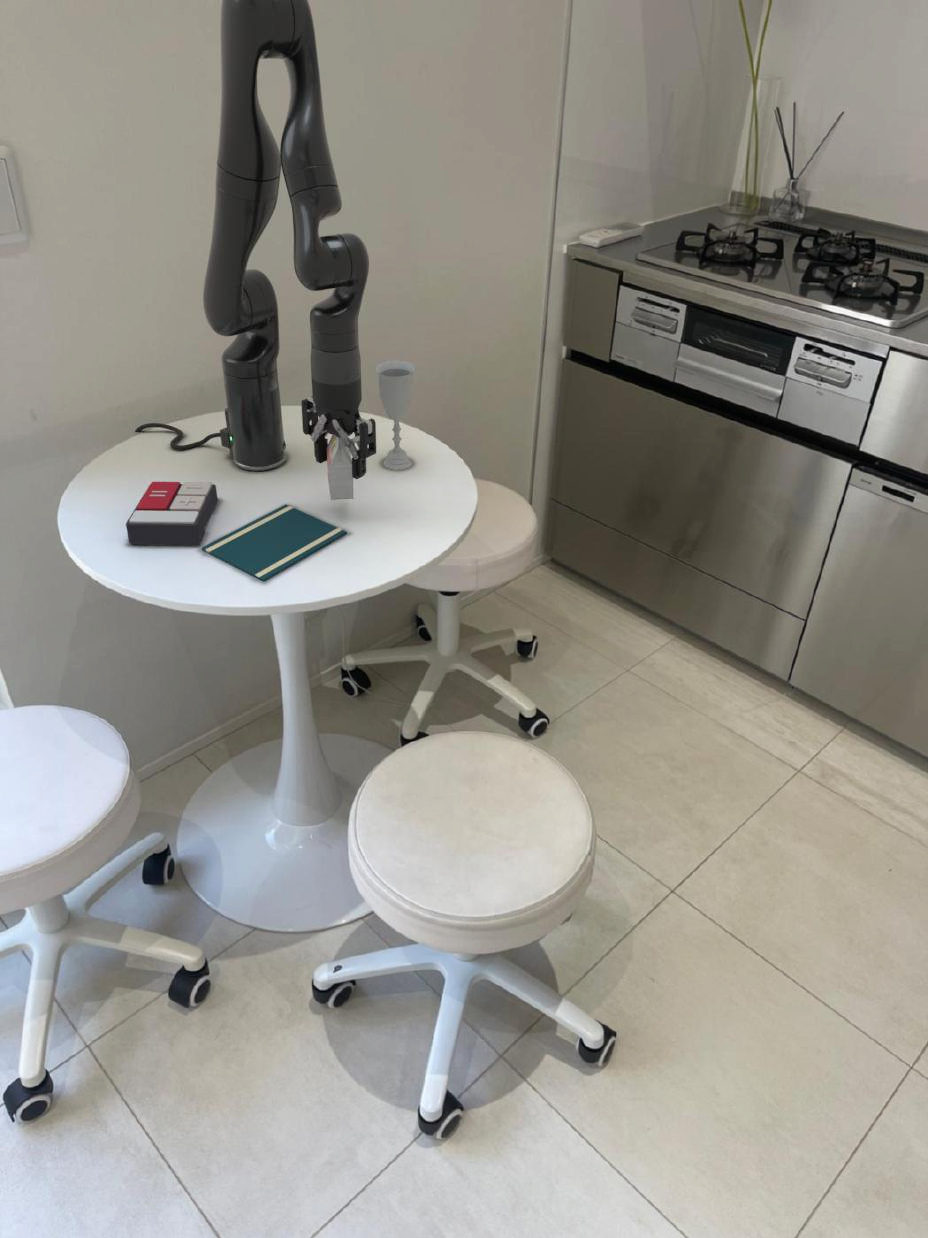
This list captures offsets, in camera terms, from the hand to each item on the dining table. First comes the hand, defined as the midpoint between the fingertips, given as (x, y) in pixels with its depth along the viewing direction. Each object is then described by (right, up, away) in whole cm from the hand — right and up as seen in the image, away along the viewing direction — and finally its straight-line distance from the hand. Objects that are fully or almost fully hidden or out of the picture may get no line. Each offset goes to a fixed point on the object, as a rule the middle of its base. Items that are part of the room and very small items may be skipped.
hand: (340, 468), depth 155 cm
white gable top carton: (0, -3, +2) cm, 4 cm away
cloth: (-10, -12, -4) cm, 16 cm away
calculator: (-27, -9, +1) cm, 28 cm away
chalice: (+8, +4, +19) cm, 21 cm away
